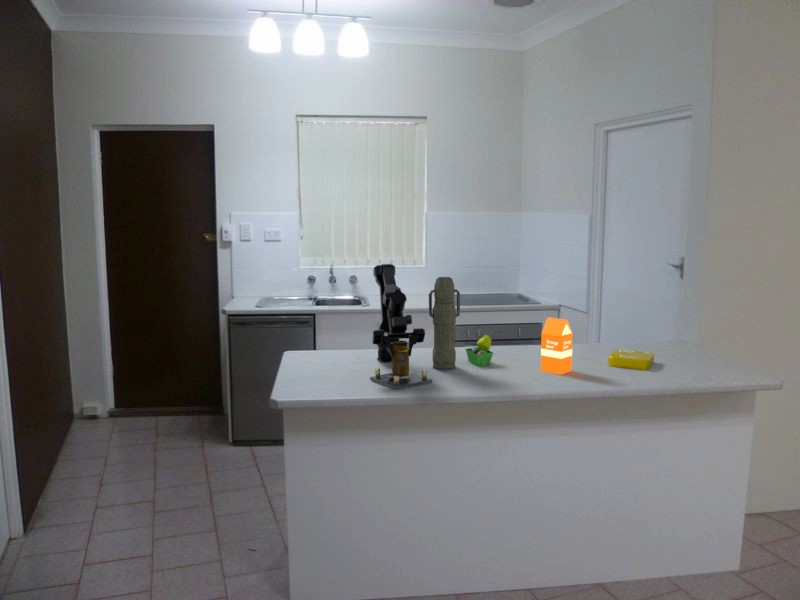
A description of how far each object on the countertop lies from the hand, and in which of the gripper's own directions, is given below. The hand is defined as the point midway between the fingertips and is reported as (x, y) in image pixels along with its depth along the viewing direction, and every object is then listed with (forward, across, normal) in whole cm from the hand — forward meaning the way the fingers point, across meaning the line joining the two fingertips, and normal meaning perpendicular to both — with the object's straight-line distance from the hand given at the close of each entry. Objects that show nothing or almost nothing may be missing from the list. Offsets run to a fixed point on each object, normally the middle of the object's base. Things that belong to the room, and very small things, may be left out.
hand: (401, 356), depth 239 cm
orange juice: (+4, +60, +10) cm, 61 cm away
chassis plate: (+6, 0, +8) cm, 10 cm away
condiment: (+4, 0, +6) cm, 8 cm away
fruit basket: (-8, +36, +23) cm, 43 cm away
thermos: (-6, +20, +20) cm, 28 cm away
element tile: (+1, +93, +14) cm, 94 cm away
